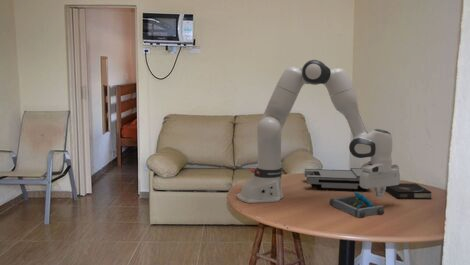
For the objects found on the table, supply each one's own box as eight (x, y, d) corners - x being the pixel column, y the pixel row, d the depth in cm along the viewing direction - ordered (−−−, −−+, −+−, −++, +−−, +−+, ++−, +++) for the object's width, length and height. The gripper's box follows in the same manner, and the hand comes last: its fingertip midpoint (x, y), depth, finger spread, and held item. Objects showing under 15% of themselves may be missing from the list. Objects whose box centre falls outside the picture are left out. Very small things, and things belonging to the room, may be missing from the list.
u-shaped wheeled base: (359, 218, 175) (359, 211, 175) (329, 204, 194) (329, 198, 193) (384, 214, 181) (384, 207, 180) (353, 201, 199) (353, 195, 199)
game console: (304, 181, 239) (304, 166, 238) (362, 183, 236) (363, 168, 235) (307, 190, 218) (307, 175, 217) (371, 193, 215) (371, 177, 214)
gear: (379, 208, 183) (363, 192, 182) (370, 218, 183) (354, 202, 181) (366, 204, 194) (352, 189, 193) (358, 214, 193) (343, 199, 192)
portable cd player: (397, 200, 203) (397, 192, 203) (383, 190, 220) (384, 183, 220) (431, 200, 204) (431, 192, 203) (415, 191, 221) (415, 183, 220)
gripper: (393, 162, 196) (392, 192, 198) (357, 166, 188) (356, 196, 190) (404, 165, 190) (402, 195, 192) (367, 169, 183) (366, 200, 184)
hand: (379, 196), depth 191 cm, fingers closed
